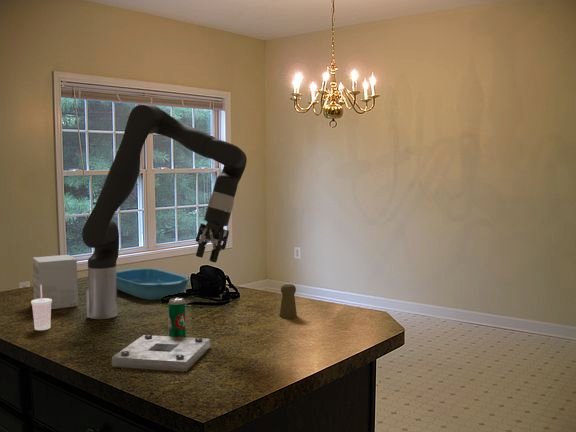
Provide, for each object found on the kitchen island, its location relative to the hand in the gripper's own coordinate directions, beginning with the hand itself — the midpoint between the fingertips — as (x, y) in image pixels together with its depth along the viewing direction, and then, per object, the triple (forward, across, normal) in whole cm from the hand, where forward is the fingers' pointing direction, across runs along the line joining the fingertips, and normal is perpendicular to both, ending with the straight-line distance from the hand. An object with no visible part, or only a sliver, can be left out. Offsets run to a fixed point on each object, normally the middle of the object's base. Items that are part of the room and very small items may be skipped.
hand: (205, 259), depth 183 cm
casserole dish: (+22, -62, +16) cm, 68 cm away
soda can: (+25, +3, -4) cm, 25 cm away
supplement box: (+32, -62, -19) cm, 73 cm away
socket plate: (+27, +15, -14) cm, 34 cm away
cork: (+13, +1, +37) cm, 39 cm away
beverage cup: (+35, -33, -31) cm, 57 cm away
